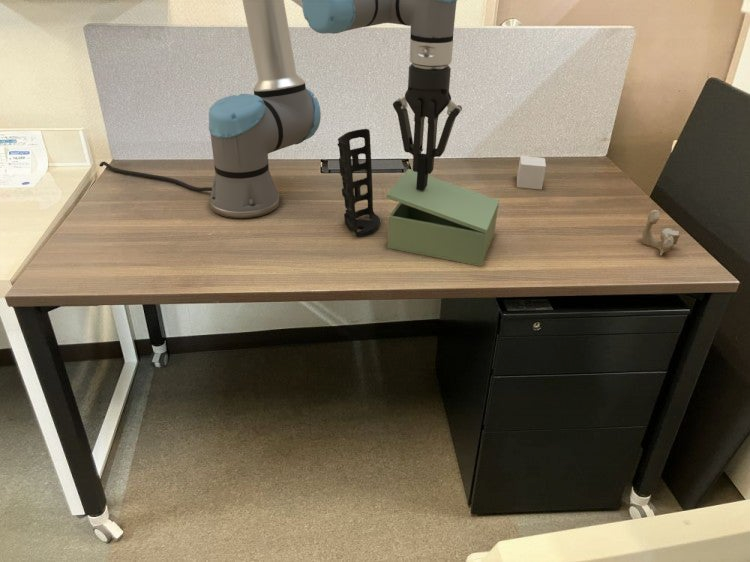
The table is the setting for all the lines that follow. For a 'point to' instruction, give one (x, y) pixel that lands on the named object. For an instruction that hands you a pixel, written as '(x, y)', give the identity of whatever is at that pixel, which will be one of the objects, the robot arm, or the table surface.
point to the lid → (445, 201)
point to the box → (437, 236)
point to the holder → (357, 183)
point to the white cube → (531, 172)
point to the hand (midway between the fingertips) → (421, 187)
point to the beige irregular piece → (667, 235)
